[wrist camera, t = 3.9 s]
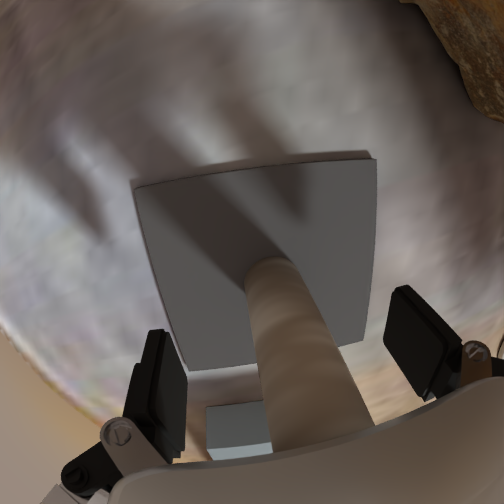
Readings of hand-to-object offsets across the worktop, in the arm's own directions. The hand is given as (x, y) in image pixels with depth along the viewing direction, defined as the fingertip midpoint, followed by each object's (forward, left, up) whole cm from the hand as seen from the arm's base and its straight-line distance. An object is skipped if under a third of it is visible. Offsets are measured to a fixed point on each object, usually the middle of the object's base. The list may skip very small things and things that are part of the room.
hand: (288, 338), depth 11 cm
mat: (0, 0, -5) cm, 5 cm away
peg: (0, 0, -5) cm, 5 cm away
